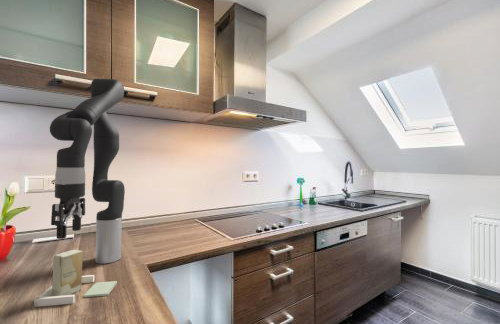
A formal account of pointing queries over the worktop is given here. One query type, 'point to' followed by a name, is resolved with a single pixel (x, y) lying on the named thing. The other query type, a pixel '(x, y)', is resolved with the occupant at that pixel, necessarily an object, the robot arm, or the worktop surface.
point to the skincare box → (67, 273)
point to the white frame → (59, 300)
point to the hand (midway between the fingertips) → (69, 234)
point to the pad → (100, 289)
